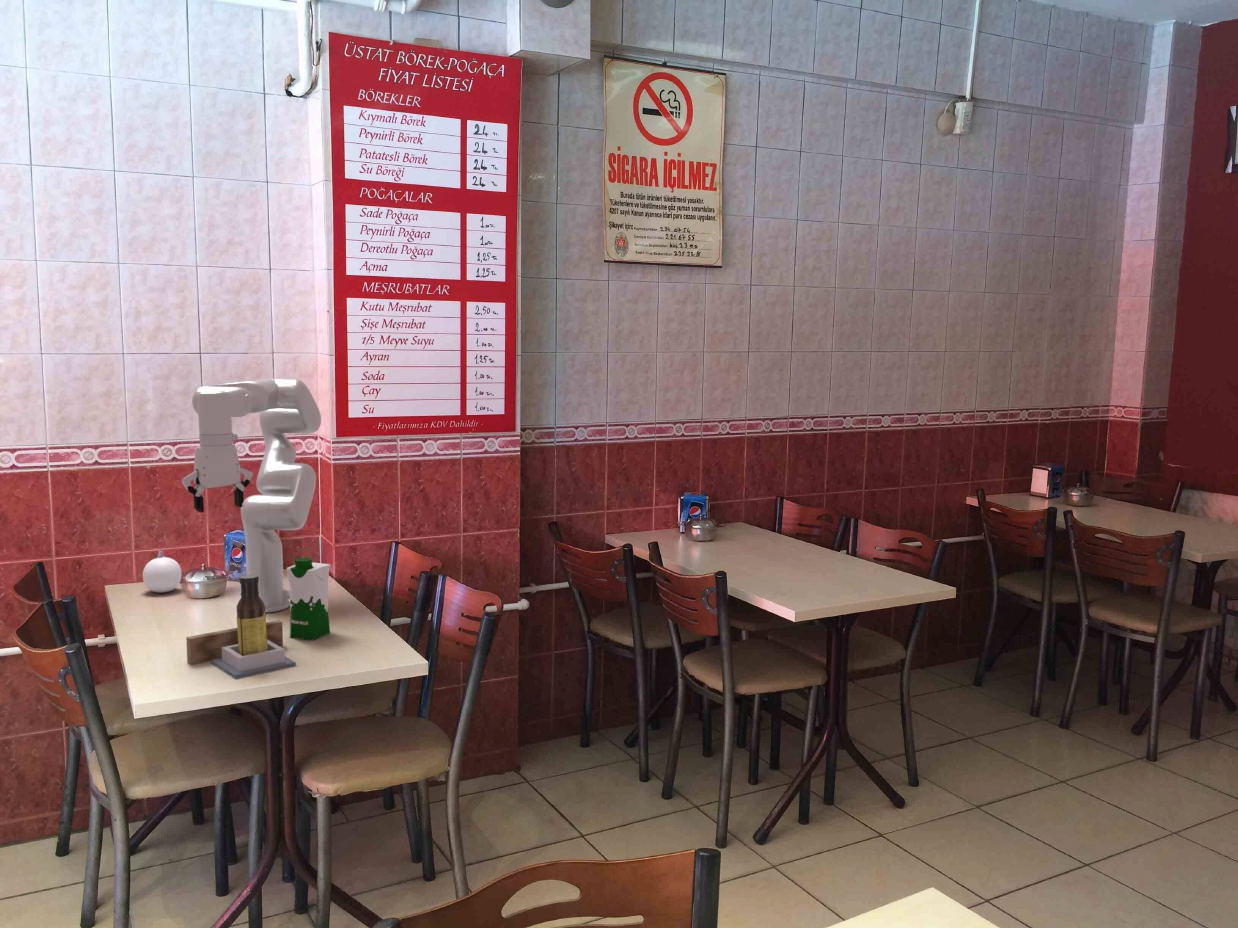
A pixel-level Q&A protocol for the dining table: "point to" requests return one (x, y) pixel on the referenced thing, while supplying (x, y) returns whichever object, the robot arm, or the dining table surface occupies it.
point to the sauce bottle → (251, 618)
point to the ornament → (162, 574)
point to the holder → (252, 661)
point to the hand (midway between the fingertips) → (219, 508)
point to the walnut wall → (224, 642)
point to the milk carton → (308, 599)
